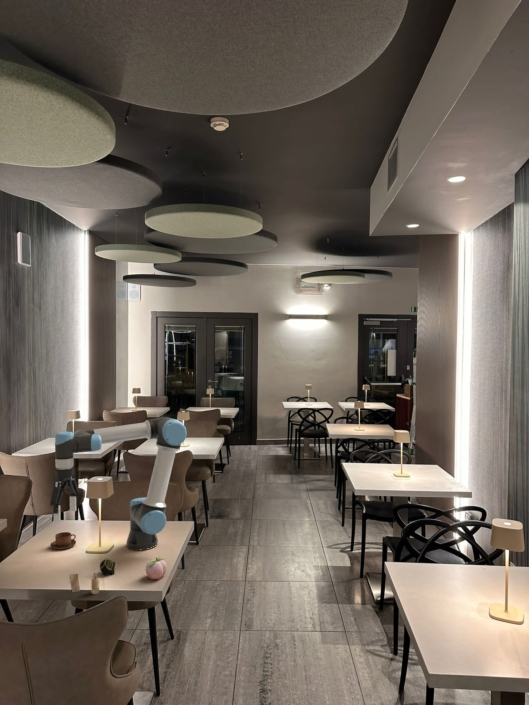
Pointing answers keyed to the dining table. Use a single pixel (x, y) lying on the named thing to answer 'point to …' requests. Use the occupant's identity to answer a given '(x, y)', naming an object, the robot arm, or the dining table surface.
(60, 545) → the cup and saucer
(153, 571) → the decorative fruit
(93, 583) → the beige bottle
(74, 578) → the joist strip
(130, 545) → the robot arm
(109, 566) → the tape measure
